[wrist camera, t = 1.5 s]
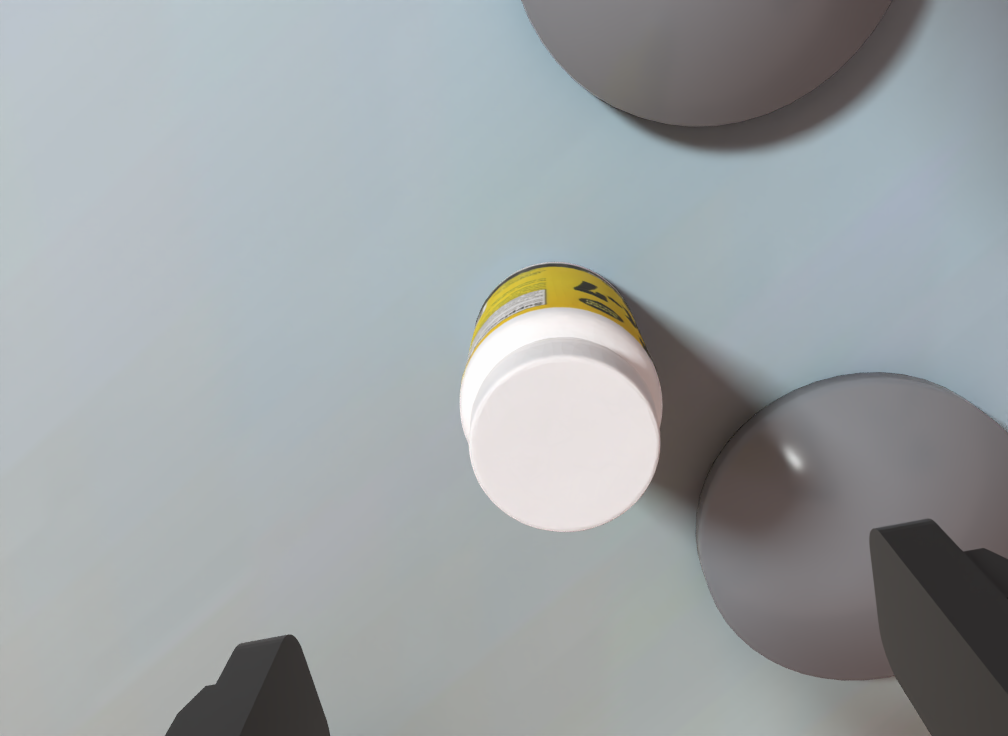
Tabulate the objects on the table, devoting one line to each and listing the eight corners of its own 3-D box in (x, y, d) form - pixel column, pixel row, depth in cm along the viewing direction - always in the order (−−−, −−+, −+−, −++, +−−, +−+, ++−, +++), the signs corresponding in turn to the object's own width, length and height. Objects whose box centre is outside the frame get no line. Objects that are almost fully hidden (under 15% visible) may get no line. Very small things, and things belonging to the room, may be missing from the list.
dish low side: (671, 409, 26) (677, 424, 25) (1010, 341, 26) (1032, 353, 24) (720, 680, 29) (728, 704, 28) (1026, 628, 29) (1047, 650, 27)
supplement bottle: (664, 357, 26) (725, 478, 18) (534, 440, 27) (537, 591, 19) (575, 225, 25) (597, 292, 17) (442, 316, 26) (403, 421, 18)
